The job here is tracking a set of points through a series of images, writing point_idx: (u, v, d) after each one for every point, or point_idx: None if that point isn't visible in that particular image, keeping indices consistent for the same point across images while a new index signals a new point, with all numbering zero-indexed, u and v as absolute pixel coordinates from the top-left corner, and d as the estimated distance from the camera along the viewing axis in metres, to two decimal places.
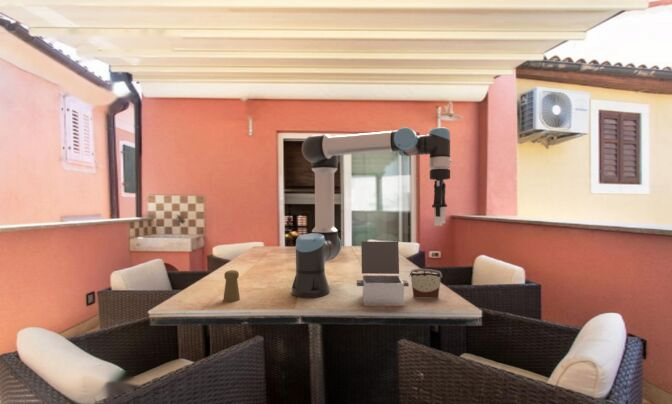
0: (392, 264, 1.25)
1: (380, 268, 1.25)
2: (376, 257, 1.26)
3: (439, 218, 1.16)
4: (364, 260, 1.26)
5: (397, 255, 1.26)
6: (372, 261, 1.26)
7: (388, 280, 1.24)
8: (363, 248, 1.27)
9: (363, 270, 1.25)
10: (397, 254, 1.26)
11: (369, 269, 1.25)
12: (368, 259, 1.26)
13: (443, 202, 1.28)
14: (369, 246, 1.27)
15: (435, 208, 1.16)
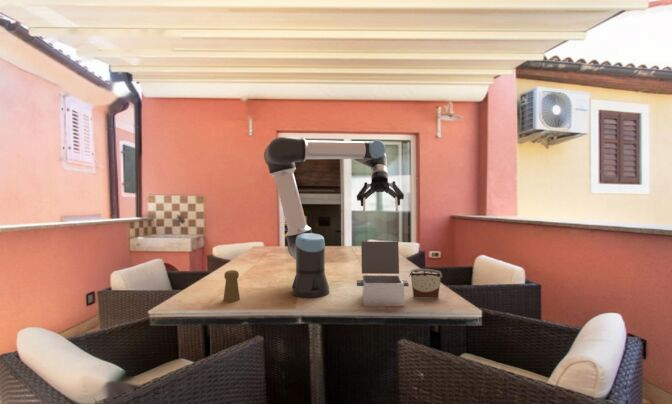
0: (392, 264, 1.25)
1: (380, 268, 1.25)
2: (376, 257, 1.26)
3: None
4: (364, 260, 1.26)
5: (397, 255, 1.26)
6: (372, 261, 1.26)
7: (388, 280, 1.24)
8: (363, 248, 1.27)
9: (363, 270, 1.25)
10: (397, 254, 1.26)
11: (369, 269, 1.25)
12: (368, 259, 1.26)
13: (366, 198, 1.41)
14: (369, 246, 1.27)
15: (397, 197, 1.36)
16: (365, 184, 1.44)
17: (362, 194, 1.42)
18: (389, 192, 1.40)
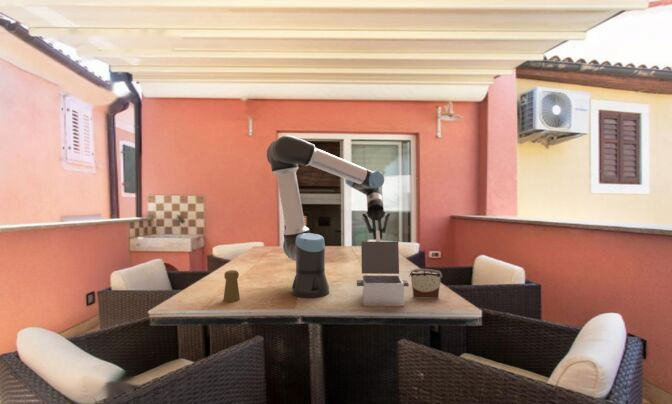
0: (392, 264, 1.25)
1: (380, 268, 1.25)
2: (376, 257, 1.26)
3: None
4: (364, 260, 1.26)
5: (397, 255, 1.26)
6: (372, 261, 1.26)
7: (388, 280, 1.24)
8: (363, 248, 1.27)
9: (363, 270, 1.25)
10: (397, 254, 1.26)
11: (369, 269, 1.25)
12: (368, 259, 1.26)
13: None
14: (369, 246, 1.27)
15: (379, 231, 1.39)
16: (364, 215, 1.45)
17: None
18: (378, 222, 1.44)
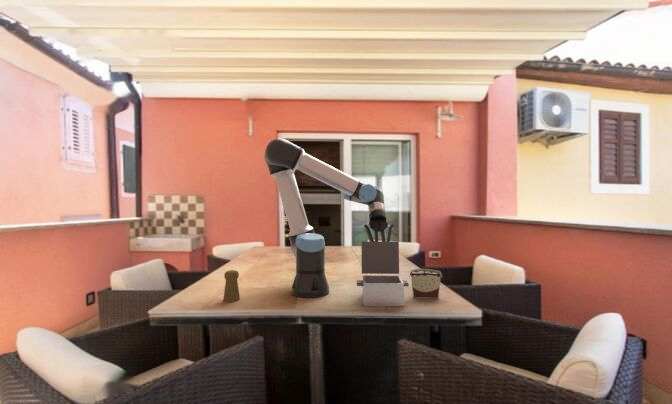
0: (392, 264, 1.25)
1: (380, 268, 1.25)
2: (376, 257, 1.25)
3: None
4: (364, 260, 1.26)
5: (397, 255, 1.25)
6: (372, 261, 1.25)
7: (388, 280, 1.24)
8: (363, 248, 1.26)
9: (363, 270, 1.25)
10: (397, 254, 1.25)
11: (369, 269, 1.25)
12: (368, 259, 1.26)
13: None
14: (369, 246, 1.26)
15: None
16: (366, 226, 1.37)
17: None
18: (381, 234, 1.36)
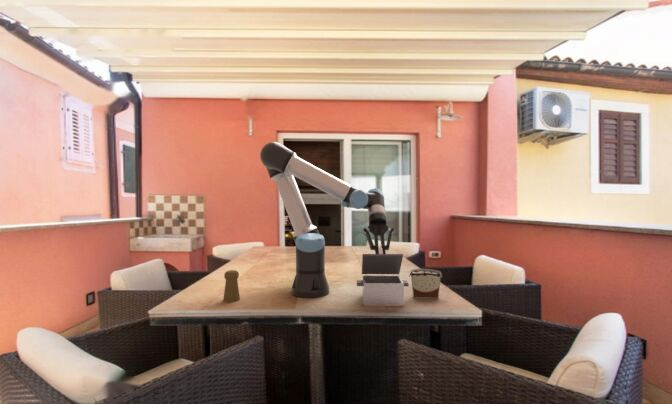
0: (393, 269, 1.22)
1: (381, 271, 1.23)
2: (377, 265, 1.21)
3: None
4: (365, 267, 1.22)
5: (400, 264, 1.20)
6: (373, 267, 1.22)
7: (388, 280, 1.24)
8: (364, 260, 1.18)
9: (363, 272, 1.24)
10: (400, 263, 1.19)
11: (369, 272, 1.24)
12: (368, 266, 1.21)
13: None
14: (371, 258, 1.18)
15: (382, 249, 1.25)
16: (366, 230, 1.32)
17: None
18: (380, 238, 1.30)
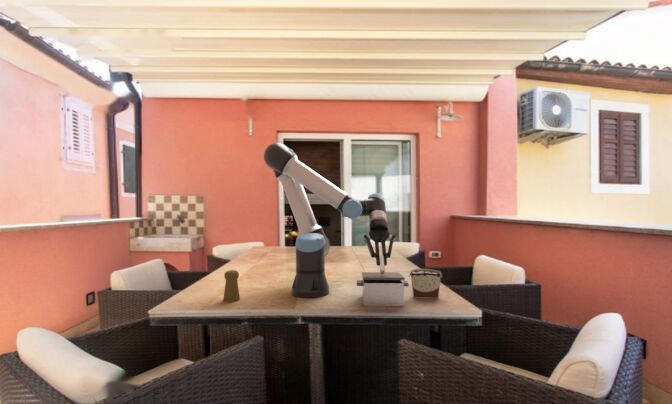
0: None
1: None
2: None
3: None
4: None
5: None
6: None
7: (388, 280, 1.24)
8: None
9: None
10: None
11: None
12: None
13: None
14: None
15: (383, 256, 1.21)
16: (366, 237, 1.27)
17: None
18: None
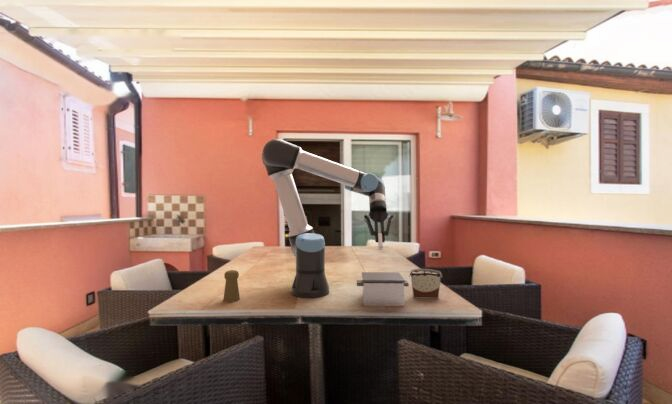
0: None
1: None
2: None
3: None
4: None
5: None
6: None
7: None
8: None
9: None
10: None
11: None
12: None
13: None
14: None
15: (381, 234, 1.31)
16: (366, 217, 1.38)
17: None
18: (380, 225, 1.36)
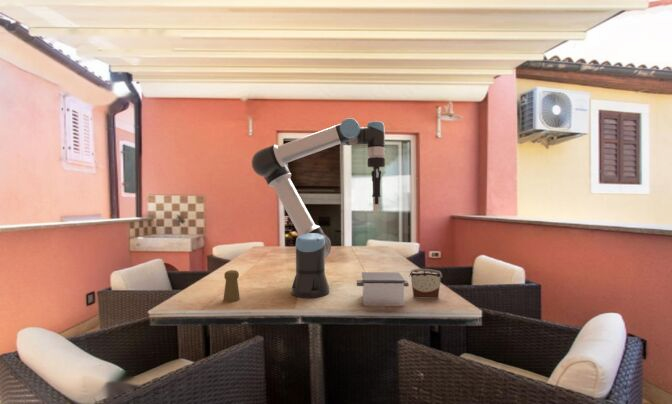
0: None
1: None
2: None
3: (377, 205, 1.39)
4: None
5: None
6: None
7: None
8: None
9: None
10: None
11: None
12: None
13: None
14: None
15: (374, 197, 1.39)
16: None
17: None
18: None
